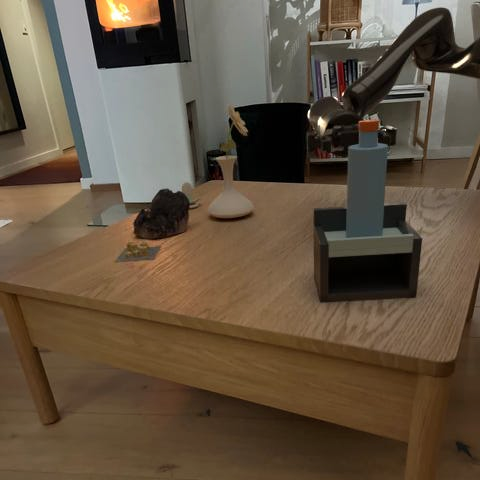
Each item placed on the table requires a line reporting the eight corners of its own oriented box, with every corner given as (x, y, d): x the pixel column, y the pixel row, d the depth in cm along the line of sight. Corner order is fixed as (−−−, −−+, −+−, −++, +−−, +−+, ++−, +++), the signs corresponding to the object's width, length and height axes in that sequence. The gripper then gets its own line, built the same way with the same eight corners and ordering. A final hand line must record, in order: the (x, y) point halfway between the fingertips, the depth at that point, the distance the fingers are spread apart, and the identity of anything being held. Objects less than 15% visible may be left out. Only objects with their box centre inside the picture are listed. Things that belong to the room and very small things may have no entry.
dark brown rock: (122, 242, 107) (115, 199, 101) (147, 220, 118) (141, 180, 112) (178, 247, 104) (173, 203, 98) (198, 224, 115) (195, 183, 109)
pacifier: (196, 210, 125) (204, 203, 130) (193, 186, 122) (201, 180, 127) (171, 210, 127) (179, 203, 132) (167, 187, 124) (176, 181, 129)
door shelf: (320, 302, 71) (320, 227, 65) (313, 276, 79) (313, 208, 74) (416, 297, 70) (424, 220, 64) (399, 271, 78) (404, 202, 73)
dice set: (128, 250, 100) (126, 241, 99) (152, 248, 99) (150, 239, 98) (122, 258, 95) (120, 249, 94) (147, 257, 95) (145, 248, 94)
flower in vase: (238, 224, 110) (229, 106, 99) (199, 220, 116) (185, 108, 104) (266, 209, 120) (260, 100, 108) (228, 206, 125) (219, 103, 114)
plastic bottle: (378, 231, 72) (384, 117, 65) (385, 243, 68) (393, 121, 60) (343, 234, 73) (346, 120, 65) (348, 245, 68) (352, 124, 61)
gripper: (302, 113, 86) (309, 121, 71) (382, 106, 85) (406, 113, 70) (302, 156, 89) (310, 172, 75) (379, 150, 88) (402, 166, 74)
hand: (357, 144), depth 73 cm, fingers open, 8 cm apart
